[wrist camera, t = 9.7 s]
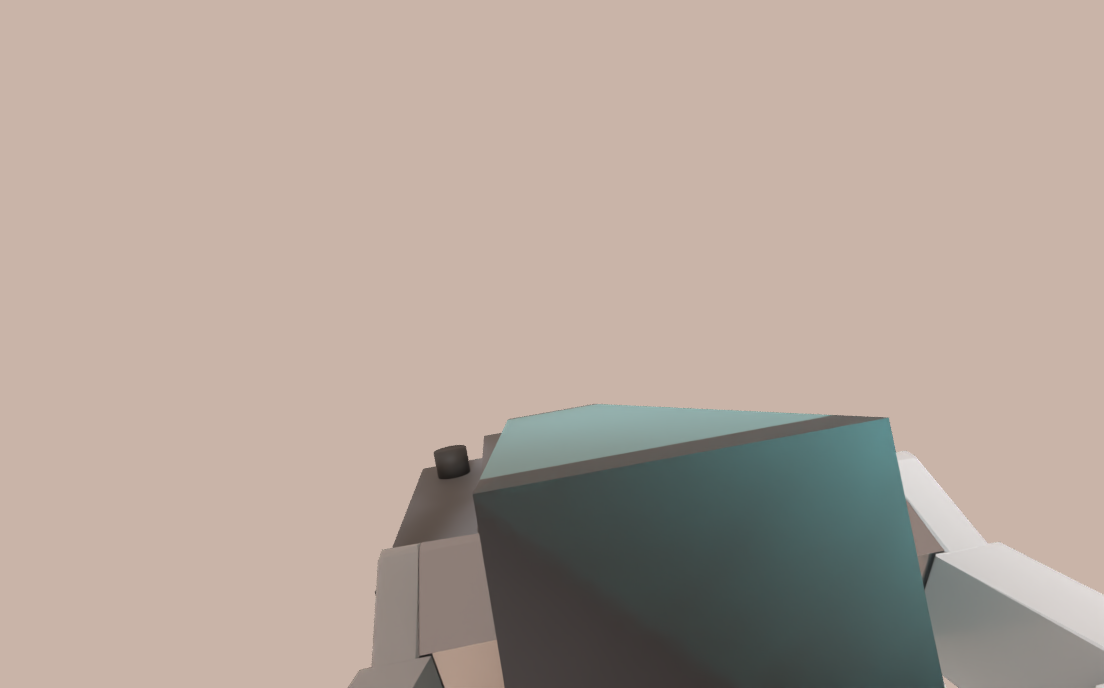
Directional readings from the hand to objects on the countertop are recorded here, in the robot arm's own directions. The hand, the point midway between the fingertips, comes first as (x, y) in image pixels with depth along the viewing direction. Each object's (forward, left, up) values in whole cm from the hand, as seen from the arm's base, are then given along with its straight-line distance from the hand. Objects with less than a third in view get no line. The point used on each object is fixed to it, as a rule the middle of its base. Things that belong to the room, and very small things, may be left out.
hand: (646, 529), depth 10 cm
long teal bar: (0, +9, -4) cm, 10 cm away
